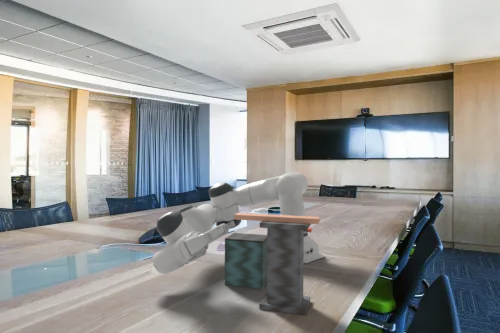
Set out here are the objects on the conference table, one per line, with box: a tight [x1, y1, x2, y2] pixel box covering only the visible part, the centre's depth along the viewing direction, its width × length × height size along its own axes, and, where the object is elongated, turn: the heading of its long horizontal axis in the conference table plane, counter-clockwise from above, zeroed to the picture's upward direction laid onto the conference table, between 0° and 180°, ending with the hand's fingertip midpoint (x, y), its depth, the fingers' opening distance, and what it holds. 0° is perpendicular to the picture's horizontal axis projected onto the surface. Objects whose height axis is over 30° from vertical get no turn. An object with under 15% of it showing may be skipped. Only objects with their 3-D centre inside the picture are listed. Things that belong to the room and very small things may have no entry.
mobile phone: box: [215, 242, 225, 252], centre depth 179 cm, size 8×1×15 cm
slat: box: [234, 212, 321, 225], centre depth 108 cm, size 26×4×2 cm, turn 74°
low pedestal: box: [224, 232, 267, 290], centre depth 128 cm, size 14×10×17 cm
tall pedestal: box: [258, 221, 312, 316], centre depth 108 cm, size 14×10×26 cm
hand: (228, 226), depth 112 cm, fingers open, 8 cm apart
